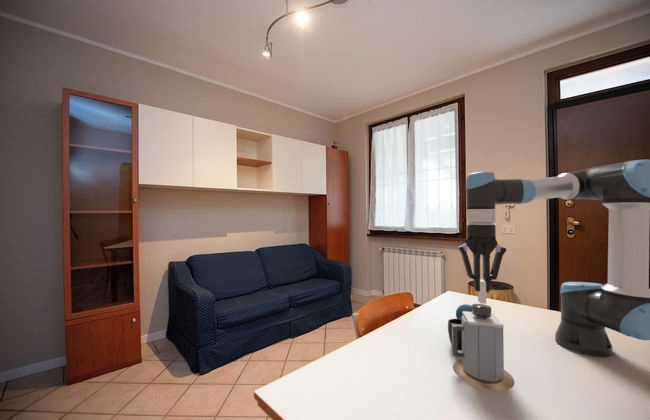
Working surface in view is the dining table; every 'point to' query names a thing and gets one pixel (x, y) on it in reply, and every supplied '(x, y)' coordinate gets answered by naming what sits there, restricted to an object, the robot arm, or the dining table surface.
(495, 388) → the cork trivet
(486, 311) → the plunger
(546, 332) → the dining table surface
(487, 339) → the carafe
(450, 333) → the mug
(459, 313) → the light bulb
